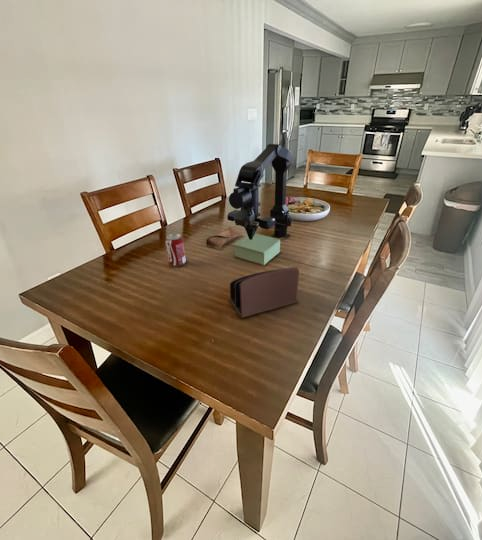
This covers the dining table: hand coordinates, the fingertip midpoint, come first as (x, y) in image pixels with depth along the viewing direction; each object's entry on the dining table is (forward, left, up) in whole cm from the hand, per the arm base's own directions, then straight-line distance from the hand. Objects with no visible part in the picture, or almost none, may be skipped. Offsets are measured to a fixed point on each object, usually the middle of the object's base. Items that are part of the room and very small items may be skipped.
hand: (250, 239), depth 117 cm
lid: (-5, 0, -4) cm, 6 cm away
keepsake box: (-5, 0, -10) cm, 11 cm away
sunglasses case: (-8, -21, -10) cm, 25 cm away
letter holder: (+20, +21, -10) cm, 30 cm away
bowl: (-62, -10, -10) cm, 64 cm away
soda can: (+20, -22, -10) cm, 32 cm away
